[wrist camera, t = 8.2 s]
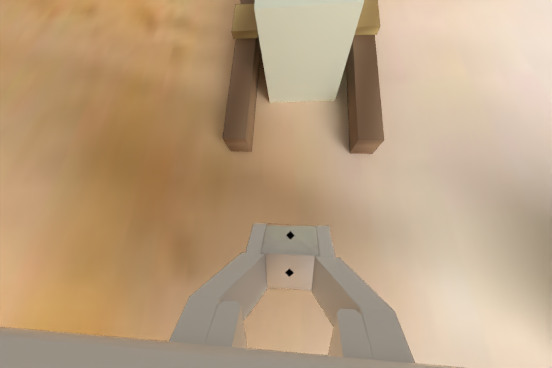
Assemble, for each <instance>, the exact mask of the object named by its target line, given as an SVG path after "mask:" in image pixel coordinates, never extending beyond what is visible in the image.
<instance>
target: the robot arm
mask: <svg viewBox="0 0 552 368" xmlns="http://www.w3.org/2000/svg"><path fill="white" fill-rule="evenodd" d="M267 288H281V289H297V290H308V291H312V293H313V295H314V297H315V298H316V300H317V301H318V303H319V305H320V306H321V308H322V309H323V311H324V313H325V314H326V316H327V317H328V319H329V321H330V322H331V324H332V325H333V327H334V328H333V333H332V338H331V342H330V347H329V352H328V355H318V354H307V353H295V352H284V351H272V350H261V349H250V348H248V347H247V341H246V334H245V328H244V322H243V321H244V320H245V318H246V317H247V316H248V314H249V313H250V312H251V310H252V309H253V308H254V306H255V305H256V304H257V302H258V301H259V299H260V298H261V297H262V295H263V294H264V293H265V291H266V290H267ZM0 368H464V367H452V366H441V365H430V364H418V363H415V361H414V359H413V356H412V354H411V351H410V349H409V346H408V344H407V341H406V339H405V336H404V334H403V331H402V329H401V326H400V324H399V321H398V319H397V316H396V313H395V311H394V310H393V309H392V308H391V307H390V306H389V305H388V304H387V303H386V302H385V301H384V300H383V299H382V298H381V297H380V296H378V295H377V294H376V293H375V292H374V291H373V290H372V289H371V288H370V287H369V286H368V285H367V284H366V283H365V282H364V281H363V280H362V279H361V278H360V277H359V276H358V275H357V274H356V273H355V272H354V271H353V270H352V269H351V268H350V267H349V266H348V265H347V264H346V263H345V262H344V261H343V260H342V259H341V258H338V257H335V252H334V247H333V242H332V237H331V233H330V228H329V226H328V225H316V226H314V225H288V224H272V223H267V224H266V223H254V224H253V227H252V230H251V234H250V238H249V241H248V245H247V249H246V252H245V253H241V254H239V255H238V256H237V257H236V258H235V259H233V260H232V261H231V262H230V263H229V264H228V265H226V266H225V267H224V268H223V269H222V270H220V271H219V272H218V273H217V274H216V275H215V276H213V277H212V278H211V279H210V280H209V281H207V282H206V283H205V284H204V285H203V286H202V287H200V288H199V289H198V290H197V291H196V292H194V293H193V294H192V295H191V296H190V297H189V299H188V301H187V304H186V306H185V308H184V310H183V312H182V314H181V317H180V319H179V321H178V323H177V325H176V327H175V329H174V332H173V334H172V336H171V338H170V340H169V341H159V340H147V339H136V338H125V337H113V336H102V335H91V334H79V333H68V332H57V331H45V330H34V329H22V328H11V327H0Z"/></svg>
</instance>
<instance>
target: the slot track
mask: <svg viewBox="0 0 552 368" xmlns="http://www.w3.org/2000/svg"><path fill="white" fill-rule="evenodd" d="M254 4H255V0H241V4H238V5H235V11H234V19H233V26H232V34H233V37H234V39H236V42H235V49H234V57H233V64H232V72H231V79H230V87H229V94H228V102H227V109H226V116H225V124H224V131H223V139H224V141H225V142H226V144H227V145H228V147H229V148H230V150H231V151H251V150H252V139H253V129H254V118H255V107H256V96H257V85H258V74H259V64H260V53H261V47H260V41H259V35H258V29H257V23H256V17H255V11H254ZM379 28H380V19H379V9H378V0H364V4H363V7H362V11H361V14H360V17H359V21H358V24H357V28H356V31H355V35H354V38H353V41H352V45H351V48H350V52H349V55H348V58H347V62H346V69H347V93H348V117H349V141H350V153H366V154H372V153H373V152H374V151H375V150H376V149H377V148H378V146H379V145H380V144H381V143H382V142H383V141H384V133H383V122H382V111H381V100H380V89H379V78H378V66H377V55H376V44H375V35H377V33H378V30H379Z"/></svg>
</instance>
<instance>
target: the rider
mask: <svg viewBox="0 0 552 368" xmlns="http://www.w3.org/2000/svg"><path fill="white" fill-rule="evenodd" d="M363 4H364V0H255V4H254V11H255V17H256V23H257V29H258V35H259V41H260V47H261V53H262V59H263V65H264V72H265V78H266V84H267V90H268V96H269V102H270V103H276V102H305V101H335V99H336V96H337V92H338V89H339V86H340V82H341V79H342V75H343V72H344V69H345V65H346V62H347V58H348V55H349V52H350V48H351V45H352V41H353V38H354V35H355V31H356V28H357V24H358V21H359V17H360V14H361V11H362V7H363Z"/></svg>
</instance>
